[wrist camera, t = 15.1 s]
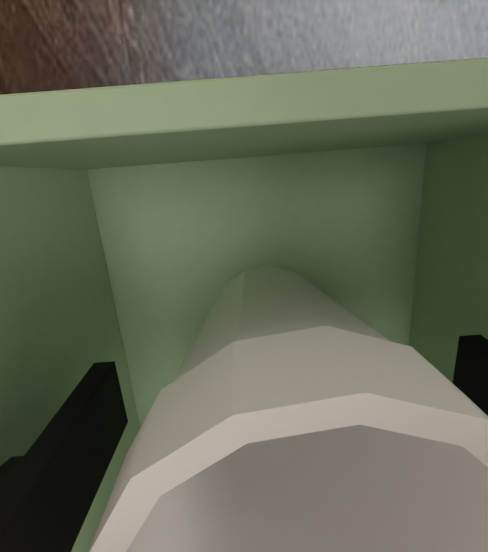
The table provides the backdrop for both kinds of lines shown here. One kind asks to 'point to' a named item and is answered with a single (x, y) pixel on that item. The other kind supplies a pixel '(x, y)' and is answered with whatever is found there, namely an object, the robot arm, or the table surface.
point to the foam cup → (301, 439)
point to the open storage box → (231, 221)
